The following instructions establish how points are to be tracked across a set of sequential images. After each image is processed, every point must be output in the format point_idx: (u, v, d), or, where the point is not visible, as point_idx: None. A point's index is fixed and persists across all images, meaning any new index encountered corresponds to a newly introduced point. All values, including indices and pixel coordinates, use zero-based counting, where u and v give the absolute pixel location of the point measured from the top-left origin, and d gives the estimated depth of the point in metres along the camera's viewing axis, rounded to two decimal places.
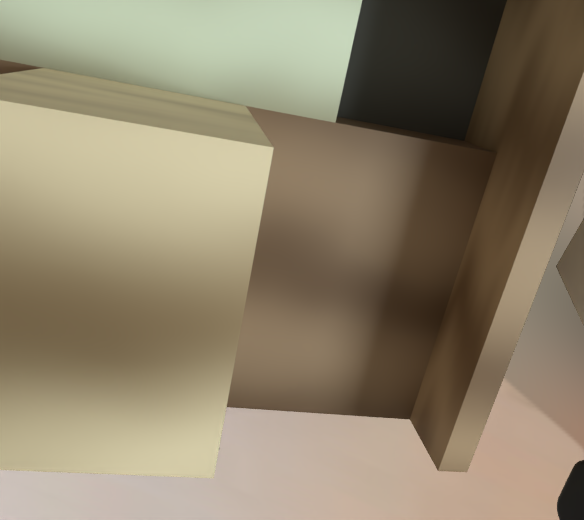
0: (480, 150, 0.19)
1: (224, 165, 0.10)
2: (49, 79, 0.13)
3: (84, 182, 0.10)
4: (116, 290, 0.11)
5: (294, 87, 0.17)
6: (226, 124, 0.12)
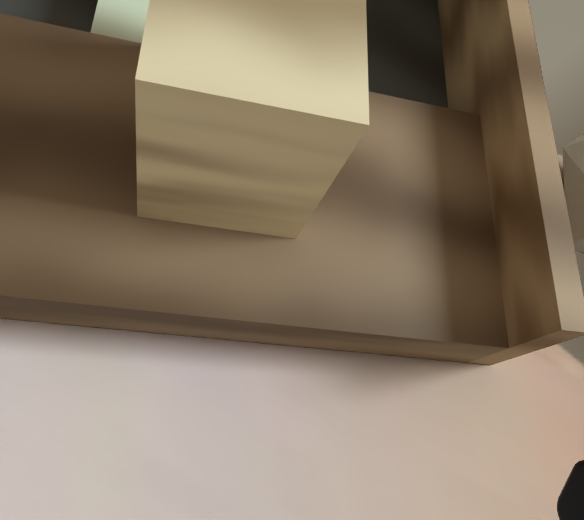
0: (467, 113, 0.26)
1: None
2: None
3: None
4: None
5: None
6: None
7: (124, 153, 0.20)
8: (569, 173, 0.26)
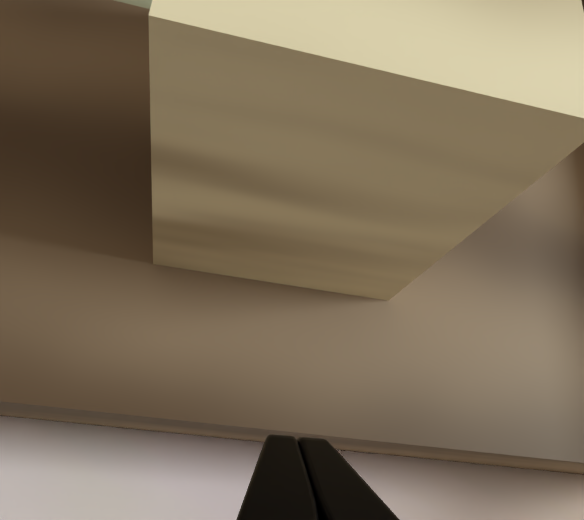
0: None
1: None
2: None
3: None
4: None
5: None
6: None
7: (137, 168, 0.14)
8: None
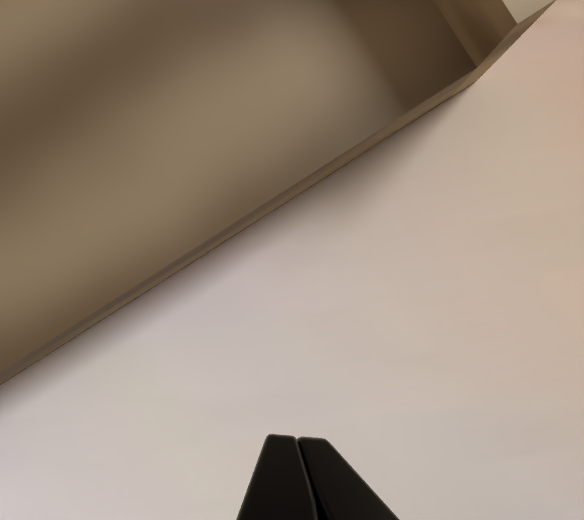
0: None
1: None
2: None
3: None
4: None
5: None
6: None
7: None
8: None
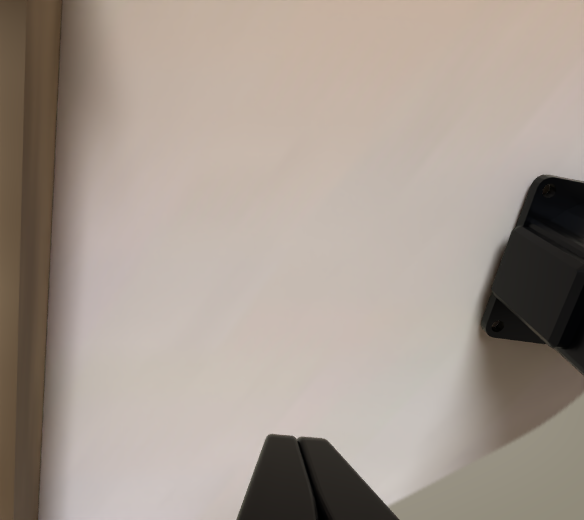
0: None
1: None
2: None
3: None
4: None
5: None
6: None
7: None
8: None
